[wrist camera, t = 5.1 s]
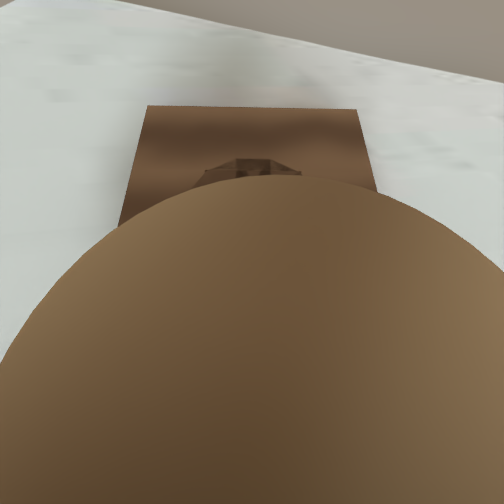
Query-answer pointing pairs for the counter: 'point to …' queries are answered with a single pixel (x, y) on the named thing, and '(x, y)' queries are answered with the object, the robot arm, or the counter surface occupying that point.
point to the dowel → (262, 358)
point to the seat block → (241, 149)
